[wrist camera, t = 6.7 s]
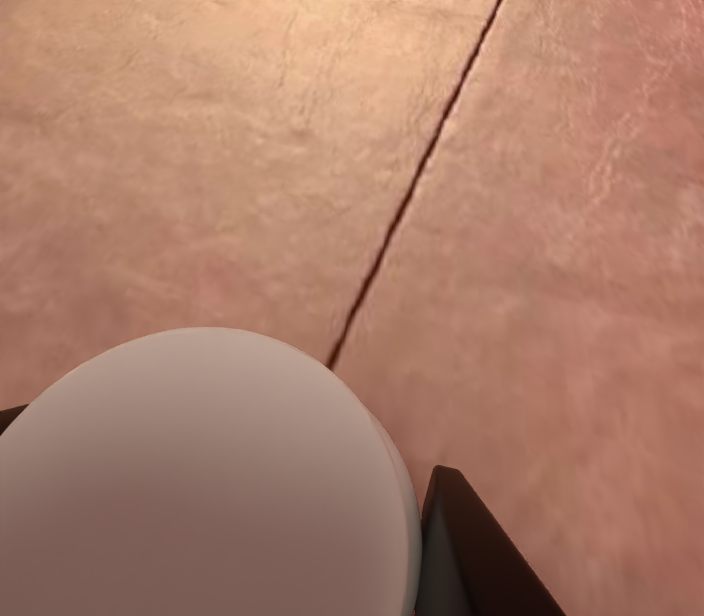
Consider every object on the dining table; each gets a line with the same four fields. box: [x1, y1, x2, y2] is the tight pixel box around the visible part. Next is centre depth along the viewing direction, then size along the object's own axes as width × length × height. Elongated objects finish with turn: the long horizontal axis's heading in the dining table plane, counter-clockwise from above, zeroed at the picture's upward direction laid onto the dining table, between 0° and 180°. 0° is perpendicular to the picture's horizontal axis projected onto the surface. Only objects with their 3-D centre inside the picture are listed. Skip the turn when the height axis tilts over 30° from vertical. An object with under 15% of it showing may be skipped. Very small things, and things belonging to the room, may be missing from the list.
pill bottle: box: [0, 327, 422, 616], centre depth 9 cm, size 6×6×10 cm
